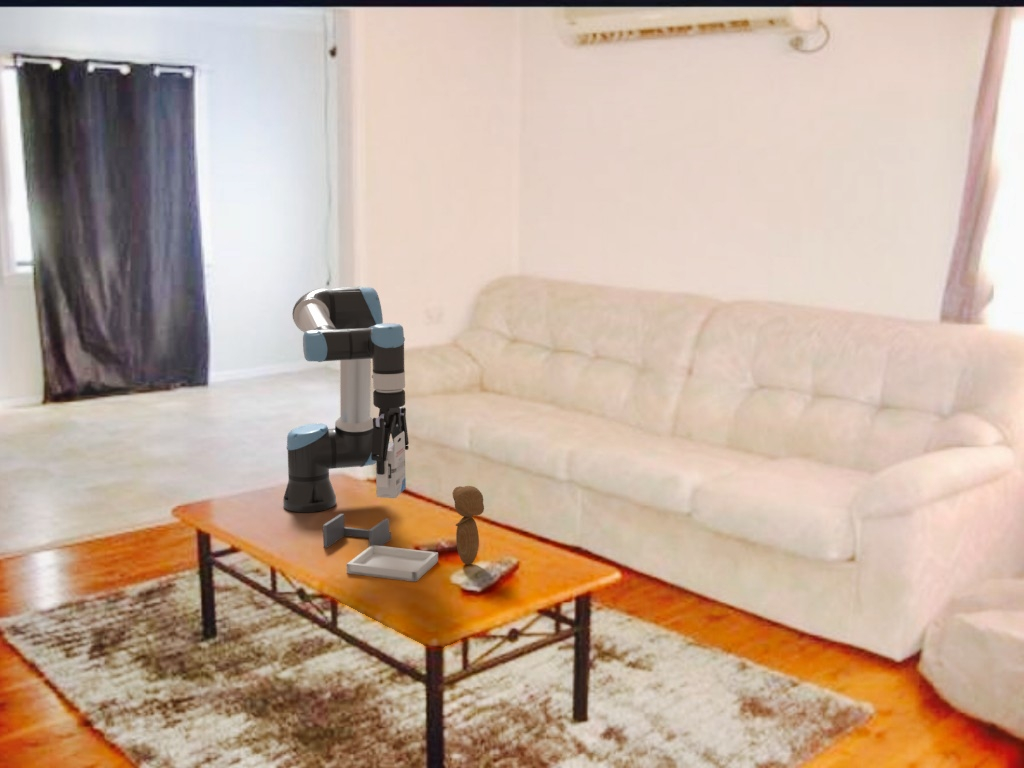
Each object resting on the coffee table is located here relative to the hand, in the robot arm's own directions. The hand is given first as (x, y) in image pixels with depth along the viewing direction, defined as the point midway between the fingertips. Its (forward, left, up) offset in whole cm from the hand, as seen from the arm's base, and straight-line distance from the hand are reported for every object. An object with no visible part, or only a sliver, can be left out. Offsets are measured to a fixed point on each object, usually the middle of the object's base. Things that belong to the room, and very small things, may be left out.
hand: (391, 481), depth 249 cm
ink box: (0, 0, -3) cm, 3 cm away
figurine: (-7, +17, -22) cm, 29 cm away
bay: (-12, -16, -22) cm, 30 cm away
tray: (0, 0, -22) cm, 22 cm away
